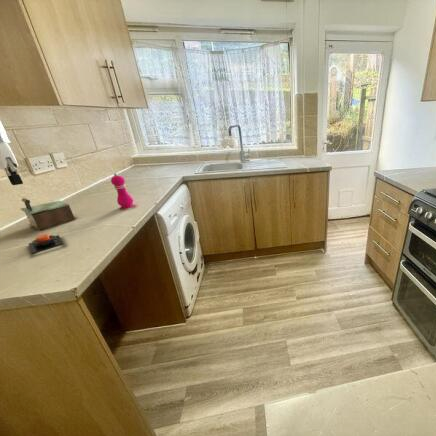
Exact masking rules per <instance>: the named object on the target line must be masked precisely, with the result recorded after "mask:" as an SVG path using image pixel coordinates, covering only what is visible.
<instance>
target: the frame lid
mask: <svg viewBox="0 0 436 436" xmlns="http://www.w3.org/2000/svg"><path fill="white" fill-rule="evenodd" d="M21 202H23V203H24V206H25V207H21V208H20V211H22V212H23V213H24V214H25V213H27V214H34V213H38V212H43V211H47V210H52V209H56V208H61V207H65V206H70V204H69V203H67V202H65V201H62V200H56V201H51V202H46V203H41V204H36V205H31V204H30V203H31V200H30V199H28V198H26V197H23V198H22V199H21Z"/></svg>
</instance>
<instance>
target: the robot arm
mask: <svg viewBox="0 0 436 436" xmlns="http://www.w3.org/2000/svg"><path fill="white" fill-rule="evenodd" d="M9 143H11V140H10V137H9V135H8V134H7V132H6V129H5V128H4V125H3V122H2V121H1V120H0V170H4V172H5V174H6V175H7V179H8V180H9V182H10V184H11V185H12V186H18V185H23V184H24V182H23V180H22V177H21V176H20V174H19V172H18V170H17V168H19V163H18V161H17V159H16V156H15V155H14V152H13V151H12V148H11V147H10V144H9Z"/></svg>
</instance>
